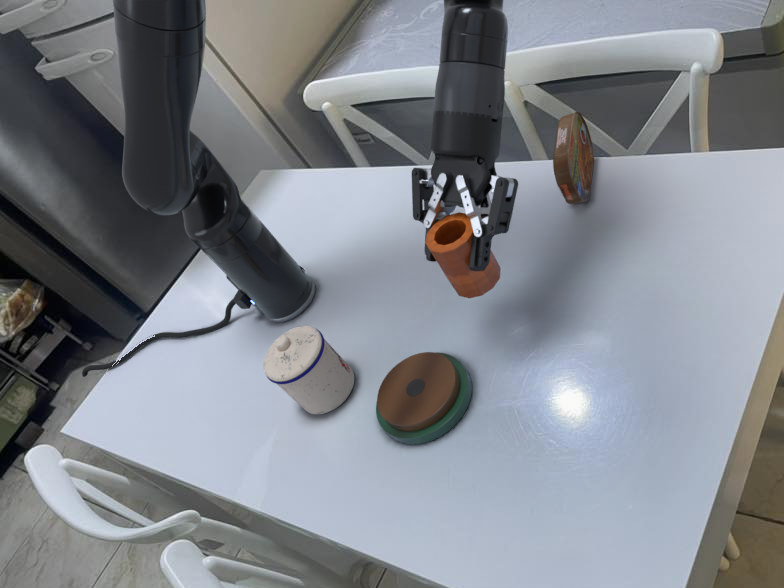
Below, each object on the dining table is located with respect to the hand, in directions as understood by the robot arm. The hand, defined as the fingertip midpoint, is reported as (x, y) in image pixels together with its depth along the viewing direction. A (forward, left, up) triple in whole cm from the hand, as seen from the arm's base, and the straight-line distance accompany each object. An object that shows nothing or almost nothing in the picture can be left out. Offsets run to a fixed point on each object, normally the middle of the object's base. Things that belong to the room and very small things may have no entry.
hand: (455, 265), depth 81 cm
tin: (+4, +29, -15) cm, 33 cm away
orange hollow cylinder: (0, +2, -4) cm, 5 cm away
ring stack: (-8, -10, -15) cm, 19 cm away
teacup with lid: (-26, -9, -15) cm, 31 cm away
